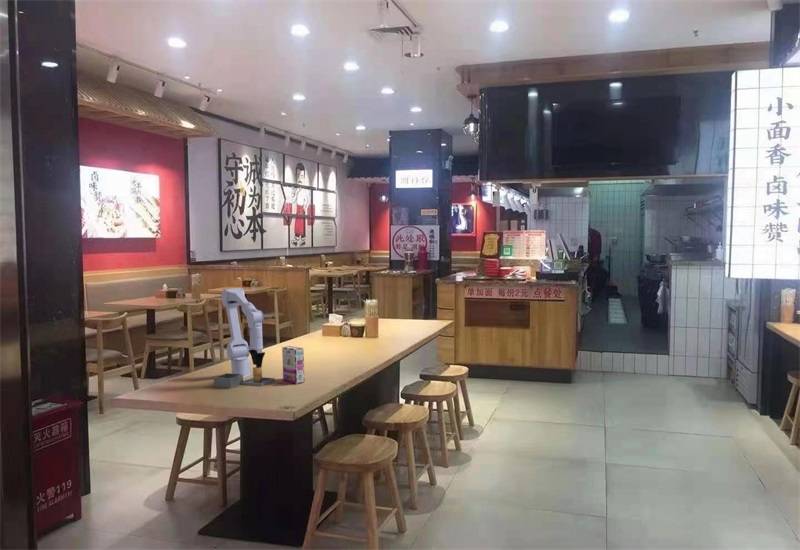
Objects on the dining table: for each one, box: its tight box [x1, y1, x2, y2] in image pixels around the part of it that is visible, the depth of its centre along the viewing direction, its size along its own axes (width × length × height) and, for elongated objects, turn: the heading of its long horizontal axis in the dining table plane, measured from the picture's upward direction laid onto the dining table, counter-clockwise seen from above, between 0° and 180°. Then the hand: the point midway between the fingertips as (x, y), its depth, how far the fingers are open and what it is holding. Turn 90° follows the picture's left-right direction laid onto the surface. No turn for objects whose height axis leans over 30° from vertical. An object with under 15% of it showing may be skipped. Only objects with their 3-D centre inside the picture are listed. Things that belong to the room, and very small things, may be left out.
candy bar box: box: [281, 345, 305, 385], centre depth 288 cm, size 11×5×16 cm, turn 45°
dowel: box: [252, 366, 263, 383], centre depth 286 cm, size 4×4×7 cm
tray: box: [241, 376, 276, 387], centre depth 286 cm, size 11×11×2 cm
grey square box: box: [213, 372, 244, 389], centre depth 283 cm, size 9×9×5 cm
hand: (257, 365), depth 286 cm, fingers open, 7 cm apart
